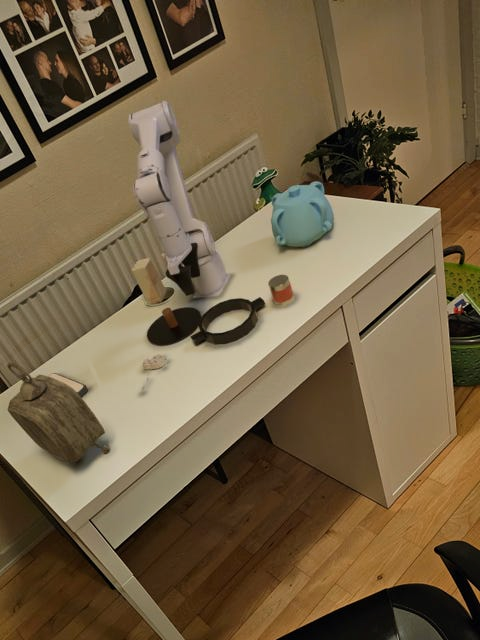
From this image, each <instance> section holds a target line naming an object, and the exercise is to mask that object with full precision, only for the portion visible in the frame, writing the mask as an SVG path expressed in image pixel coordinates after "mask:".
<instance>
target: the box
mask: <svg viewBox="0 0 480 640" xmlns="http://www.w3.org/2000/svg"><path fill="white" fill-rule="evenodd" d="M130 271H131V273H132V275H133V277H134V279H135V281H136V283H137V285H138V287H139V289H140V291H141V292H142V294H143V297H144V298H145V301H146V302H147V304H149V305H150V304H156V303H160V302H162V301H163V299H164V297H165V295H166V293H167V289H166V287H165V285H164V283H163V281H162V279H161V277H160V275H159V273H158V271H157V269H156V266H155V264H154V263H153V260H152V258H151V257H146V258H142V259H138V260H136V262H135V263H134V264H133V266H132V268H131V270H130Z"/></svg>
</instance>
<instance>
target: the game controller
mask: <svg viewBox="0 0 480 640" xmlns="http://www.w3.org/2000/svg"><path fill="white" fill-rule="evenodd" d="M167 362H168V361H167V358H166V356H163V357H162V356H161V354H159V353H158V354H156V355H153V357H152V358H151V360H150V358H145V359H144V360H143V361H142V363H141V365H142V368H143V370H150V371H149V372H147V376H146V382H148V379H149V378H148V376H149V374H150V372H152V371H153V370H156V369H161V368H163V367H164V366H166V364H167ZM143 389H144V388H142V389H141V391H143Z"/></svg>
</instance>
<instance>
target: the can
mask: <svg viewBox="0 0 480 640" xmlns="http://www.w3.org/2000/svg"><path fill="white" fill-rule="evenodd" d="M267 284H268V288H269V291H270V294H271V298H272V300H273V303H274V304H275V305H276V306H277V307H285V306H288V305H290V304H291V303H292V302H293V301H294V300H295V294H294V290H293V287H292V285H291V281H290V278H289V276H288V275H287V274H277V275H274V276H273V277H271V278H270V279H269V281H268V282H267Z"/></svg>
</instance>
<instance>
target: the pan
mask: <svg viewBox="0 0 480 640" xmlns="http://www.w3.org/2000/svg"><path fill="white" fill-rule="evenodd" d="M265 305H266V302H265V300H264V299H263V298H261V297H260V296H259V297H257V298H256V299H254V300H252V301H251V300H250V299H247V298H242V297H237V298H229V299H227V300H224V301H220V302H218V303H217V304H215V305H213V306H212V307H210V308H209V309H208V310H206V312H204V313H203V314H202V315H201V316H202V317H201V319H200V321H199V327H198V329H199V331H198V332H195V333H193V334H191V335H190V339H191V341H192V342H193V344H195V345H196V344H198V343H200V342H202V341H206V343H208V344H212V345H215V346H217V345H218V346H219V345H228V344H231V343H234V342H238V341H239V340H241V339H243V338H244V337H246V336H248V335H249V334H250V333H251V332H252V331H253V330H254V329H255V328H256V326H257V324H258V322H259V315H258V311H257V310H258V309H260V308H261V307H263V306H265ZM233 311H246V312H247V311H248V312H250V313H249V316H248V317H247V318H246V319H245V320H244V321H243V322H242V323H241V324H239V325H237V326H235V327H234V328H233V329H229V330H226V331H223V332H210V331H207V330H208V328H209V327H210V325H211V323H213V322H214V321H215V320H216V319H217V318H219V317H221V316H222V315H224V314H227V313H231V312H233Z"/></svg>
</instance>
